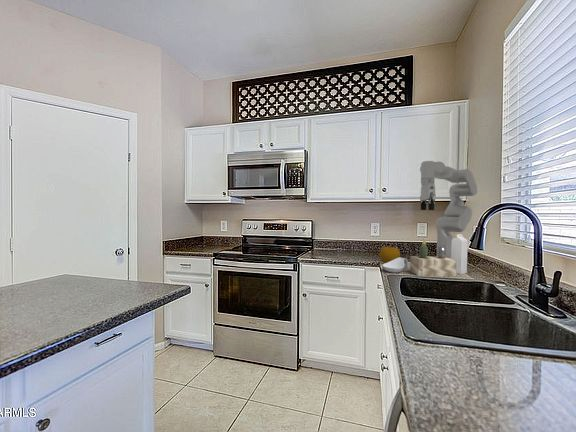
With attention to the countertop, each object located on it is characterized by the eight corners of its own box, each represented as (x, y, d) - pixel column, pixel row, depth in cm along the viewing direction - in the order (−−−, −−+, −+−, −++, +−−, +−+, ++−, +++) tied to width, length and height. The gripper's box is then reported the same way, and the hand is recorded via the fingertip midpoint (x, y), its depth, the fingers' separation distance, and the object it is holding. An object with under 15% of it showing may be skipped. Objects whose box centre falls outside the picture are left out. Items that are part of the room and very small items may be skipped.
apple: (379, 261, 205) (379, 245, 205) (399, 263, 201) (400, 246, 201) (378, 264, 193) (379, 247, 193) (400, 266, 189) (400, 248, 189)
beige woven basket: (445, 272, 171) (445, 246, 171) (456, 276, 160) (456, 248, 160) (410, 271, 171) (410, 245, 171) (418, 275, 160) (419, 247, 160)
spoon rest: (398, 275, 163) (399, 261, 162) (378, 271, 171) (378, 259, 170) (415, 269, 180) (415, 257, 180) (395, 266, 188) (396, 255, 188)
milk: (450, 272, 173) (451, 233, 173) (456, 271, 176) (457, 233, 176) (461, 274, 168) (462, 234, 168) (467, 273, 171) (467, 234, 171)
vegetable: (424, 275, 163) (425, 238, 163) (417, 273, 167) (417, 237, 166) (429, 274, 166) (429, 237, 165) (421, 272, 169) (422, 237, 169)
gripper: (441, 180, 174) (440, 210, 175) (426, 182, 192) (426, 209, 192) (428, 180, 174) (428, 210, 175) (415, 182, 191) (414, 209, 192)
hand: (427, 209), depth 183 cm, fingers open, 9 cm apart
